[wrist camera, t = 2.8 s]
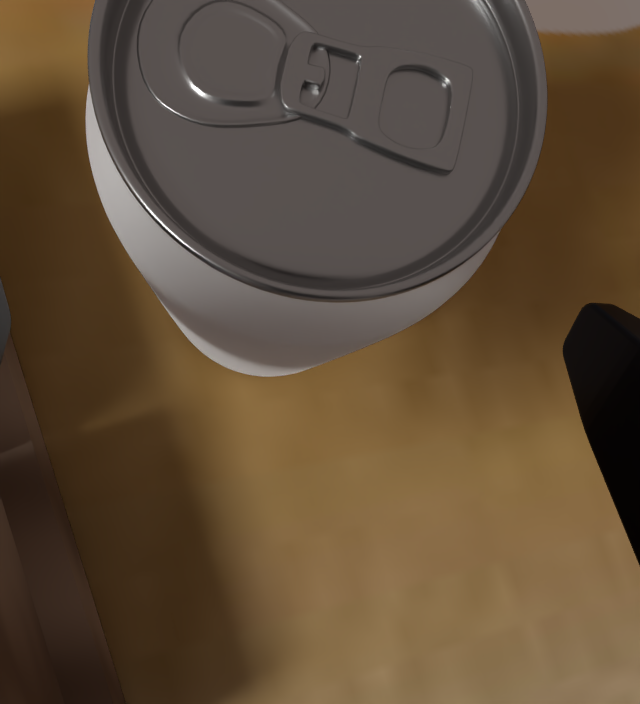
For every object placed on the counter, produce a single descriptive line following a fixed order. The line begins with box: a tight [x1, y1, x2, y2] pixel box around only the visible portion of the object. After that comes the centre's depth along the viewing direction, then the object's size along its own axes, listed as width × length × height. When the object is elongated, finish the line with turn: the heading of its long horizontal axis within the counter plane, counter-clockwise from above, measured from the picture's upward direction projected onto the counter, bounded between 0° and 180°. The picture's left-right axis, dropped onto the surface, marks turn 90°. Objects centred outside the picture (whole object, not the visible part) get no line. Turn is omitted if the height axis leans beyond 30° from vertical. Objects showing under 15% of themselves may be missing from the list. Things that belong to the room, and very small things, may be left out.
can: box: [86, 0, 547, 377], centre depth 13 cm, size 6×6×12 cm
